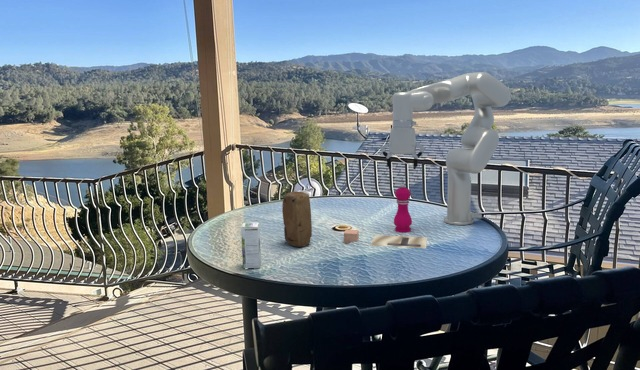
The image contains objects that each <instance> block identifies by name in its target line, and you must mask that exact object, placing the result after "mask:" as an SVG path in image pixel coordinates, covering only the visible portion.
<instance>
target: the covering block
mask: <svg viewBox="0 0 640 370" xmlns="http://www.w3.org/2000/svg"><path fill="white" fill-rule="evenodd" d="M359 232H360V231H359V230H358V229H345V231H344V232H343V243H344V244H351V242H358V240H359V236H360V235H359Z"/></svg>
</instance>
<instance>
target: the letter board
mask: <svg viewBox="0 0 640 370" xmlns="http://www.w3.org/2000/svg"><path fill="white" fill-rule="evenodd" d="M427 243H428V237H425V236H409V235H408V236H407V235H406V236H405V235H386V234H385V235H383V234H380V235H378V234H375V235H374V237H373V239H372V241H371V243H370V246H372V247H373V246H374V247H393V248H394V247H395V248H413V249H427Z"/></svg>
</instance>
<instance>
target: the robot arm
mask: <svg viewBox="0 0 640 370" xmlns="http://www.w3.org/2000/svg"><path fill="white" fill-rule="evenodd" d="M468 95H472V102H473V107H474V115H473V117H472V118H471V121H470V123H469V124H468V125H467V127H466V129H465V131H464V133H463V134H462V136H461V139H460V143H461V145H462V146H463V147H464V148H463V147H457V148H456V147H455V148H452V149H450V150H449V151H448V152H447V154H446V157H445V166H446V173H447V201H446V203H447V204H446V205H447V207H446V208H447V209H446V213H447V214H446V216H444V217H443V219H442V220H443V222H444V223H445V224H449V225H455V226H467V225H472V224H474V222H475V219H477V220H479V219H482V218H483V217H482V213H477V212H476V213H475V212H474V213H473V212H472V210H471V206H472V205H471V202H472V201H471V198H472V196H471V195H472V179H471V174H480V173H481V172H483V170H485V168H486V167H487V165H488V164H489V161H490V160H491V159H492V157H493V155H494V154H495V152H496V151H497V150H496V149H497V148H498V146H499V143H500V137H499V134H498V133H499V132H497V130H496V129H493V128H492V127H493V125H494V121H495V116H494V112H493V108H501V107H506V105H508V104H509V102H510V101H511V98H512V97H511V91H510V89H509V87H507V86H506V85H505V84H504V83H503V82H501V81H499V80H498V79H497V78H495V77H494V76H492V75H491V74H489V73H488V72H485V71H478V72H477V71H476V72H475V71H474V72H467V73H464V74H460V75H458V76H454V77H451V78H449V79H446V80H443V81H442V80H441V81H439V82H434V83H431V84H428V85H425V86H421V87H418V88H417V87H416V88H414V89H411V90H408V91H403V92H402V91H401V92H399V91H398V92H395V93H394V94H393V95H392V127H391V128H390V132H389V142H388V143H386V144H384V145H382V146H380V148H379V149H380V151H381V153H382V155H383V156H384V157H385V158H386V166H387V167H388V169H389V170H390V169H392V155H412V156H413V170H416V168H418V159H419V158H420V157H421V156H423V153H424V151H425V150H426V147H425V146H424V145H421V144H419V143H418V142H417V140H416V139H417V137H416V130H415V127H413V126H417V121H415V120H414V119H413V114H414V113H413V112H414V111H417V112H424V111H429V109H431V108H432V107H433V106H434V104H440V103H448V102H452V101H454V100H457V99H460V98H463V97H466V96H468ZM387 148H388V152H387V151H386V149H387ZM417 148H418V149H419V150H420V151H419V152H418V153H416V151H417V150H416V149H417Z"/></svg>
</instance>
